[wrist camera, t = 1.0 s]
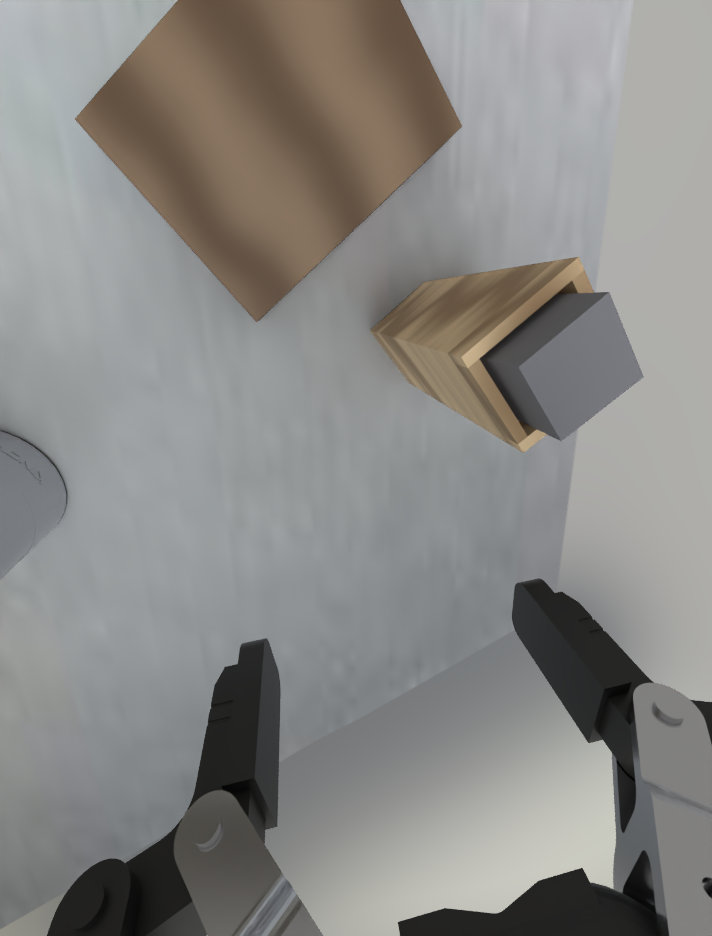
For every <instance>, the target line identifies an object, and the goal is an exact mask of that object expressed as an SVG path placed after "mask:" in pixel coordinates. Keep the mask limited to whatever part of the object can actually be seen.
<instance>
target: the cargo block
mask: <svg viewBox="0 0 712 936" xmlns="http://www.w3.org/2000/svg"><path fill="white" fill-rule="evenodd" d="M480 361H481V362H482V364H483V366H484V367H485V369H486V370H487V372H488V374H489V375H490V377H491V378H492V380H493V382H494V383H495V385H496V386H497V388H498V390H499V391H500V393H501V394H502V396H503V397H504V399H505V401H506V402H507V404H508V405H509V407H510V409H511V410H512V412H513V413H514V415H515V417H516V418H517V420H519V421H521V422H523V423H525V424H527V425H529V426H531V427H533V428H535V429H537V430H539V431H541V432H543V433H546V434H548V435H550V436H552V437H554V438H556V439H558V440H560V441H562V440H563V439H565V438H566V437H567V436H569V435H570V434H571V433H572V432H574V431H575V430H576V429H578V428H579V427H580V426H581V425H583V424H584V423H585V422H586V421H588V420H589V419H590V418H592V417H593V416H594V415H595V414H597V413H598V412H599V411H600V410H602V409H603V408H604V407H606V406H607V405H608V404H610V403H611V402H612V401H613V400H615V399H616V398H617V397H619V396H620V395H621V394H622V393H624V392H625V391H626V390H627V389H629V388H630V387H631V386H632V385H634V384H635V383H636V382H638V381H639V380H640V379H641V378H643V374H642V372H641V369H640V367H639V365H638V362H637V360H636V357H635V355H634V352H633V350H632V347H631V345H630V343H629V340H628V337H627V335H626V332H625V330H624V328H623V325H622V323H621V320H620V318H619V315H618V313H617V310H616V308H615V305H614V303H613V300H612V299H611V295H610V293H609V292H601V293H575V294H555V295H554V296H553V297H552V298H551V299H549V300H548V301H547V302H546V303H545V304H543V305H542V306H541V307H540V308H539V309H538V310H536V311H535V312H534V313H533V314H532V315H530V316H529V317H528V318H527V319H526V320H525V321H523V322H522V323H521V324H520V325H519V326H517V327H516V328H515V329H514V330H513V331H511V332H510V333H509V334H508V335H507V336H506V337H504V338H503V339H502V340H501V341H500V342H498V343H497V344H496V345H495V346H494V347H493V348H491V349H490V350H489V351H488V352H487V353H485V354H484V355H483V356H482V357H481V358H480Z"/></svg>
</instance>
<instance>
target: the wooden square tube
mask: <svg viewBox="0 0 712 936" xmlns="http://www.w3.org/2000/svg"><path fill="white" fill-rule="evenodd" d="M575 293H594V291H593V289H592V287H591V284H590V282H589V280H588V277H587V275H586V273H585V270H584V268H583V266H582V263H581V261H580V258H579V257H575V258H569V259H563V260H556V261H550V262H544V263H538V264H532V265H526V266H519V267H513V268H507V269H501V270H495V271H489V272H482V273H476V274H470V275H464V276H458V277H452V278H446V279H439V280H433V281H427V282H424V283H422V284H421V285H420V286H419V287H418V288H417V289H416V290H415V291H414V292H412V293H411V294H410V295H409V296H408V297H407V298H406V299H405V300H404V301H402V302H401V303H400V304H399V305H398V306H397V307H396V308H395V309H394V310H392V311H391V312H390V313H389V314H388V315H387V316H386V317H385V318H384V319H382V320H381V321H380V322H379V323H378V324H377V325H376V326H375V327H374V328H372V329H371V330H370V331H371V333H372V334H373V335H374V337H375V338H376V339H377V341H378V342H379V343H380V345H381V346H382V347H383V349H384V350H385V351H386V353H387V354H388V355H389V357H390V358H391V359H392V361H393V362H394V363H395V365H396V366H397V367H398V369H399V370H400V371H401V373H402V374H403V375H404V377H405V378H406V379H407V380H408V382H409V383H410V384H412V385H414V386H415V387H417V388H418V389H420V390H422V391H423V392H425V393H427V394H428V395H430V396H431V397H433V398H435V399H436V400H438V401H440V402H441V403H443V404H445V405H446V406H448V407H449V408H451V409H453V410H454V411H456V412H458V413H459V414H461V415H462V416H464V417H466V418H467V419H469V420H471V421H472V422H474V423H475V424H477V425H479V426H480V427H482V428H484V429H485V430H487V431H489V432H490V433H492V434H493V435H495V436H497V437H498V438H500V439H502V440H503V441H505V442H506V443H508V444H510V445H511V446H513V447H515V448H516V449H518V450H520V451H521V452H523V453H524V452H525V451H526V450H527V449H529V448H530V447H531V446H533V445H534V444H535V443H536V442H538V441H539V440H540V439H541V438H543V437H544V436H545V435H547V434H546V433H543V432H541V431H539V430H537V429H535V428H533V427H531V426H529V425H527V424H525V423H523V422H521V421H519V420H517V418H516V417H515V415H514V413H513V412H512V410H511V409H510V407H509V405H508V404H507V402H506V401H505V399H504V397H503V396H502V394H501V393H500V391H499V390H498V388H497V386H496V385H495V383H494V382H493V380H492V378H491V377H490V375H489V374H488V372H487V370H486V369H485V367H484V366H483V364H482V362H481V361H480V358H481V357H482V356H483V355H484V354H485V353H487V352H488V351H489V350H490V349H491V348H493V347H494V346H495V345H496V344H497V343H498V342H500V341H501V340H502V339H503V338H504V337H506V336H507V335H508V334H509V333H510V332H511V331H513V330H514V329H515V328H516V327H517V326H519V325H520V324H521V323H522V322H523V321H525V320H526V319H527V318H528V317H529V316H530V315H532V314H533V313H534V312H535V311H536V310H538V309H539V308H540V307H541V306H542V305H543V304H545V303H546V302H547V301H548V300H549V299H551V298H552V297H553V296H554V295H555V294H575Z"/></svg>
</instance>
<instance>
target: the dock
mask: <svg viewBox="0 0 712 936" xmlns="http://www.w3.org/2000/svg"><path fill="white" fill-rule="evenodd" d="M75 120H76V121H77V122H78V123H79V124H80V126H81V127H82V128H83V129H84V130H85V131H86V132H87V133H88V135H89V136H90V137H91V138H92V139H93V140H94V141H95V142H96V143H97V145H98V146H99V147H100V148H101V149H102V150H103V151H104V152H105V153H106V155H107V156H108V157H109V158H110V159H111V160H112V161H113V162H114V164H115V165H116V166H117V167H118V168H119V169H120V170H121V171H122V172H123V174H124V175H125V176H126V177H127V178H128V179H129V180H130V181H131V182H132V184H133V185H134V186H135V187H136V188H137V189H138V190H139V191H140V193H141V194H142V195H143V196H144V197H145V198H146V199H147V200H148V201H149V203H150V204H151V205H152V206H153V207H154V208H155V209H156V210H157V211H158V213H159V214H160V215H161V216H162V217H163V218H164V219H165V220H166V222H167V223H168V224H169V225H170V226H171V227H172V228H173V229H174V230H175V232H176V233H177V234H178V235H179V236H180V237H181V238H182V239H183V240H184V242H185V243H186V244H187V245H188V246H189V247H190V248H191V249H192V251H193V252H194V253H195V254H196V255H197V256H198V257H199V258H200V259H201V261H202V262H203V263H204V264H205V265H206V266H207V267H208V268H209V269H210V271H211V272H212V273H213V274H214V275H215V276H216V277H217V278H218V280H219V281H220V282H221V283H222V284H223V285H224V286H225V287H226V288H227V290H228V291H229V292H230V293H231V294H232V295H233V296H234V297H235V298H236V300H237V301H238V302H239V303H240V304H241V305H242V306H243V307H244V309H245V310H246V311H247V312H248V313H249V314H250V315H251V316H252V317H253V319H254V320H255V321H256V322H257V321H259V320H260V319H261V318H262V317H263V316H264V315H265V314H266V313H267V312H268V311H269V310H270V309H271V308H273V307H274V306H275V305H276V304H277V303H278V302H279V301H280V300H281V299H282V298H283V297H284V296H285V295H286V294H287V293H288V292H289V291H290V290H291V289H292V288H294V287H295V286H296V285H297V284H298V283H299V282H300V281H301V280H302V279H303V278H304V277H305V276H306V275H307V274H308V273H309V272H310V271H311V270H312V269H313V268H315V267H316V266H317V265H318V264H319V263H320V262H321V261H322V260H323V259H324V258H325V257H326V256H327V255H328V254H329V253H330V252H331V251H332V250H333V249H334V248H336V247H337V246H338V245H339V244H340V243H341V242H342V241H343V240H344V239H345V238H346V237H347V236H348V235H349V234H350V233H351V232H352V231H353V230H354V229H355V228H356V227H358V226H359V225H360V224H361V223H362V222H363V221H364V220H365V219H366V218H367V217H368V216H369V215H370V214H371V213H372V212H373V211H374V210H375V209H376V208H377V207H379V206H380V205H381V204H382V203H383V202H384V201H385V200H386V199H387V198H388V197H389V196H390V195H391V194H392V193H393V192H394V191H395V190H396V189H397V188H398V187H400V186H401V185H402V184H403V183H404V182H405V181H406V180H407V179H408V178H409V177H410V176H411V175H412V174H413V173H414V172H415V171H416V170H417V169H418V168H419V167H421V166H422V165H423V164H424V163H425V162H426V161H427V160H428V159H429V158H430V157H431V156H432V155H433V154H434V153H435V152H436V151H437V150H438V149H439V148H440V147H442V146H443V145H444V144H445V143H446V142H447V141H448V140H449V139H450V138H451V137H452V136H453V135H454V134H455V133H456V132H457V131H458V130H459V129H460V128H461V127H462V125H461V123H460V121H459V119H458V117H457V115H456V113H455V111H454V109H453V107H452V105H451V103H450V101H449V99H448V97H447V95H446V93H445V91H444V89H443V87H442V85H441V83H440V81H439V78H438V76H437V74H436V72H435V70H434V68H433V66H432V64H431V62H430V60H429V58H428V56H427V54H426V52H425V50H424V48H423V46H422V44H421V42H420V40H419V38H418V36H417V34H416V32H415V30H414V28H413V26H412V23H411V21H410V19H409V17H408V15H407V13H406V11H405V9H404V7H403V5H402V3H401V1H400V0H178V1H177V2H176V3H175V4H174V6H173V7H172V8H171V9H170V10H169V11H168V12H167V14H166V15H165V16H164V17H163V18H162V19H161V20H160V22H159V23H158V24H157V25H156V26H155V27H154V29H153V30H152V31H151V32H150V33H149V34H148V35H147V37H146V38H145V39H144V40H143V41H142V42H141V43H140V45H139V46H138V47H137V48H136V49H135V50H134V51H133V53H132V54H131V55H130V56H129V57H128V58H127V60H126V61H125V62H124V63H123V64H122V65H121V66H120V68H119V69H118V70H117V71H116V72H115V73H114V74H113V76H112V77H111V78H110V79H109V80H108V81H107V83H106V84H105V85H104V86H103V87H102V88H101V89H100V91H99V92H98V93H97V94H96V95H95V96H94V97H93V99H92V100H91V101H90V102H89V103H88V104H87V106H86V107H85V108H84V109H83V110H82V111H81V112H80V114H79V115H78V116H77V117H76V118H75Z"/></svg>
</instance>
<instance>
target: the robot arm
mask: <svg viewBox="0 0 712 936" xmlns="http://www.w3.org/2000/svg"><path fill="white" fill-rule="evenodd" d="M65 507H66V490H65V487H64V483H63V480H62V478H61V477H60V475H59V473H58V471H57V470H56V468H55V467H54V466H53V465H52V463H51V462H50V461H49V460H48V459H47V458H46V457H45V456H44V455H43V454H42V453H41V452H39V451H38V450H37V449H36V448H34V447H33V446H31V445H30V444H28V443H26V442H25V441H23V440H21V439H19V438H17V437H15V436H12V435H10V434H7V433H5V432H2V431H0V579H1V578H3V577H4V576H5V575H6V574H7V573H8V572H9V571H10V570H11V569H12V568H13V567H14V566H15V565H16V564H17V563H18V562H19V561H20V560H21V559H22V558H23V557H24V556H25V555H26V554H27V553H28V552H29V551H30V550H31V549H33V548H34V547H35V546H36V545H37V544H38V543H39V542H40V541H41V540H42V539H43V538H44V537H45V536H46V535H47V534H48V533H49V532H50V531H51V530H52V529H53V528H54V527H55V526H56V525H57V524H58V522H59V521H60V519H61V518H62V516H63V514H64V510H65ZM512 621H513V625H514V628H515V631H516V632H517V635H518V636H519V638H520V639H521V641H522V643H523V644H524V646H525V647H526V649H527V650H528V652H529V653H530V655H531V656H532V658H533V659H534V661H535V662H536V664H537V665H538V667H539V668H540V670H541V671H542V673H543V674H544V676H545V678H546V679H547V681H548V682H549V684H550V685H551V687H552V688H553V690H554V691H555V693H556V694H557V696H558V697H559V699H560V700H561V702H562V703H563V705H564V706H565V708H566V709H567V711H568V712H569V714H570V716H571V717H572V719H573V720H574V721H575V723H576V725H577V726H578V728H579V729H580V731H581V732H582V734H583V735H584V737H585V738H586V740H587V741H588V743H591V742H595V741H599V740H604V742H605V743H606V745H607V746H608V748H609V749H610V750H611V752H612V767H613V784H614V804H615V822H616V848H615V855H614V868H613V883H614V889H611V888H609V887H606V886H602V885H599V884H595V883H590V882H589V880H588V878H587V876H586V874H585V872H584V870H583V869H582V868H581V869H577V870H574V871H570V872H567V873H564V874H560V875H557V876H553V877H550V878H547V879H543V880H540V881H538V882H537V883H536V884H534V885H533V886H532V887H531V888H530V889H529V890H527V891H526V892H525V893H524V894H522V895H521V896H520V897H519V898H518V899H517V900H515V901H514V902H513V903H512V904H511V905H509V906H508V907H507V908H506V909H505V910H503V911H502V912H500V913H497V914H491V913H483V912H473V911H465V910H456V909H446V908H444V909H441V910H438V911H434V912H431V913H427V914H424V915H421V916H417V917H414V918H411V919H407V920H404V921H400V922H398V925H399V931H400V936H712V702H704V701H694V700H689V699H688V698H687V697H685V696H684V695H683V694H681V693H680V692H678V691H676V690H674V689H672V688H670V687H668V686H665V685H662V684H658V683H654V682H652V681H651V680H650V679H649V678H648V677H647V676H646V675H645V674H644V673H643V672H642V671H641V670H640V669H639V667H638V666H637V665H636V664H635V663H634V662H633V661H632V660H631V659H630V658H629V657H628V655H627V654H626V653H625V652H624V651H623V650H622V649H621V648H620V647H619V646H618V645H617V643H616V642H615V641H614V640H613V639H612V638H611V637H610V636H609V635H608V634H607V633H606V632H604V631H603V628H602V627H601V626H600V625H599V624H598V623H597V622H596V621H595V620H593V619H592V616H591V615H590V614H589V613H588V612H587V611H586V610H585V609H584V608H583V607H582V605H581V604H580V603H578V602H577V601H576V600H574V599H572V598H570V597H569V596H567V595H566V594H564V593H563V592H558V593H554V592H553V591H552V590H551V588H550V587H549V586H548V585H547V584H546V583H545V582H544V581H543V580H542V579H534V580H530V581H525V582H520V583H517V584H516V585H515V590H514V600H513V611H512ZM279 729H280V679H279V673H278V669H277V666H276V663H275V659H274V656H273V653H272V650H271V647H270V644H269V641H268V639H267V638H266V639H261V640H256V641H252V642H247V643H243V644H242V645H241V647H240V653H239V660H238V664H237V665H232V666H228V667H225V668H224V670H223V672H222V673H221V675H220V677H219V679H218V681H217V682H216V684H215V687H214V692H213V697H212V703H211V709H210V713H209V718H208V726H207V729H206V734H205V740H204V745H203V750H202V755H201V761H200V766H199V771H198V777H197V782H196V787H195V791H194V795H193V798H192V801H191V803H190V805H189V807H188V810H187V811H186V813H185V815H184V816H183V818H182V819H181V820H180V822H179V823H178V824H177V825H176V827H175V828H174V829H173V830H172V831H171V832H170V833H169V834H168V835H167V836H165V837H164V838H163V839H161V840H160V841H159V842H157V843H156V844H154V845H152V846H151V847H149V848H148V849H146V850H145V851H143V852H142V853H140V854H139V855H137V856H136V857H134V858H133V859H131V860H130V861H128V862H126V863H124V862H123V861H121V860H119V859H106V860H103V861H101V862H98V863H97V864H95V865H93V866H92V867H90V868H89V869H88V870H87V871H85V872H84V873H83V874H82V875H81V876H80V877H79V878H78V879H77V880H76V881H75V882H74V884H73V885H72V886H71V887H70V889H69V890H68V891H67V893H66V894H65V896H64V897H63V899H62V901H61V902H60V904H59V906H58V908H57V910H56V912H55V915H54V917H53V920H52V922H51V925H50V928H49V931H48V934H47V936H206V935H208V936H323V935H322V933H321V932H320V930H319V929H318V927H317V925H316V924H315V922H314V921H313V919H312V917H311V916H310V914H309V913H308V911H307V909H306V908H305V906H304V905H303V903H302V902H301V900H300V898H299V897H298V895H297V894H296V892H295V890H294V889H293V887H292V886H291V885H290V883H289V882H288V881H287V879H286V878H285V876H284V875H283V873H282V872H281V870H280V868H279V867H278V865H277V864H276V862H275V860H274V859H273V857H272V856H271V854H270V853H269V851H268V849H267V848H266V846H265V830H266V829H270V828H274V827H277V815H278V814H277V813H278V772H279V769H278V768H279Z"/></svg>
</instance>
